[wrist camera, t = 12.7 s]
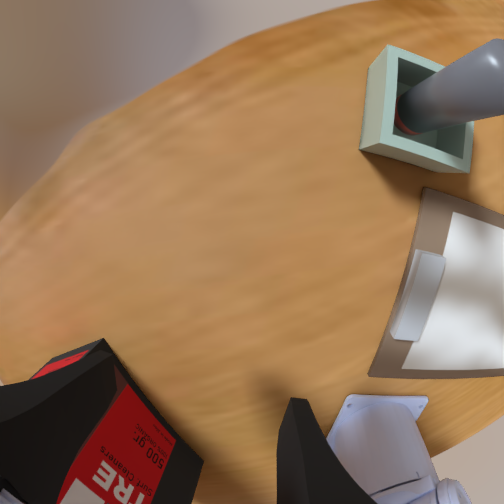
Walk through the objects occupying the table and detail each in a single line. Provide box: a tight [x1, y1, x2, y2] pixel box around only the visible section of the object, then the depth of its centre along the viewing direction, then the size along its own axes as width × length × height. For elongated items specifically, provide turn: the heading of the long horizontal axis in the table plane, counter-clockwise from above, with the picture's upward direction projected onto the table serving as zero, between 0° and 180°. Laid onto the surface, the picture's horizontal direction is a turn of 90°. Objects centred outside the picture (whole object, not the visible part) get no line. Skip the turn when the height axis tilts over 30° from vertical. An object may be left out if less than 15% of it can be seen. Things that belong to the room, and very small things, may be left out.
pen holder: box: [359, 45, 474, 173], centre depth 13 cm, size 6×6×4 cm
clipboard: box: [368, 187, 504, 379], centre depth 17 cm, size 14×18×1 cm
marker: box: [394, 39, 504, 135], centre depth 10 cm, size 3×3×10 cm
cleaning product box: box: [22, 338, 204, 504], centre depth 14 cm, size 16×9×20 cm, turn 26°
